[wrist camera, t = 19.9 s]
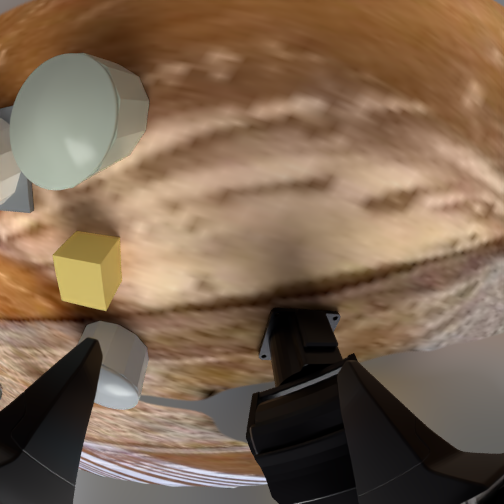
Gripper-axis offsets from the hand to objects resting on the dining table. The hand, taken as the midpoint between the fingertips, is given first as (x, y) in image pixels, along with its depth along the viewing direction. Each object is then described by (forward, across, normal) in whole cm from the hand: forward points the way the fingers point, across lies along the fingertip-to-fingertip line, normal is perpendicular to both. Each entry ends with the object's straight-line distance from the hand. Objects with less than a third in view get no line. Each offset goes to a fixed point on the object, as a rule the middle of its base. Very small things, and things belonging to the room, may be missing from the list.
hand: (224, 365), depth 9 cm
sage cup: (+12, +10, -7) cm, 17 cm away
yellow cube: (+12, +10, +4) cm, 16 cm away
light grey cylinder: (+12, +10, +15) cm, 22 cm away
